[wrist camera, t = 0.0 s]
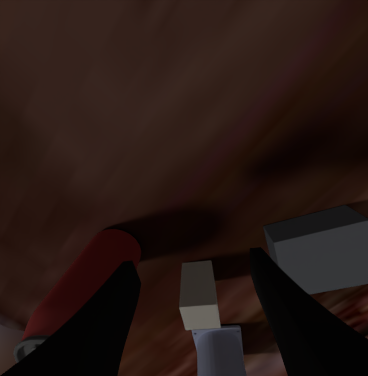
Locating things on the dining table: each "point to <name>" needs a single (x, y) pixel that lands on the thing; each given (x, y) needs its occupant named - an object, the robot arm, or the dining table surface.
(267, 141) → the dining table surface
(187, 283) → the cream block
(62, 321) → the beer can
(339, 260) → the plate
